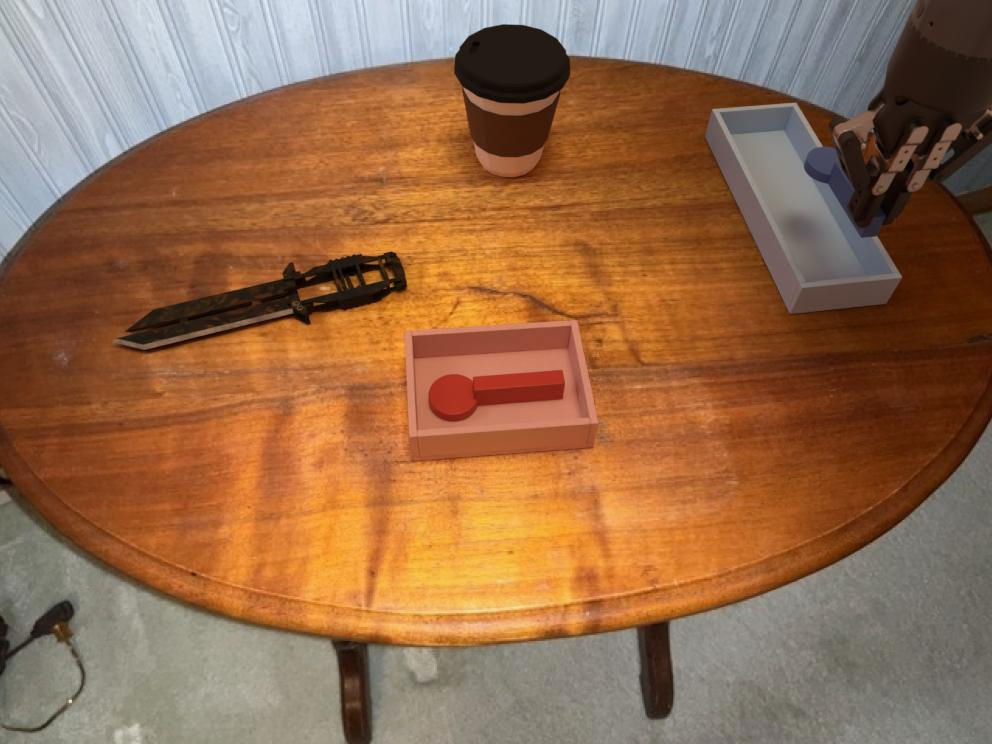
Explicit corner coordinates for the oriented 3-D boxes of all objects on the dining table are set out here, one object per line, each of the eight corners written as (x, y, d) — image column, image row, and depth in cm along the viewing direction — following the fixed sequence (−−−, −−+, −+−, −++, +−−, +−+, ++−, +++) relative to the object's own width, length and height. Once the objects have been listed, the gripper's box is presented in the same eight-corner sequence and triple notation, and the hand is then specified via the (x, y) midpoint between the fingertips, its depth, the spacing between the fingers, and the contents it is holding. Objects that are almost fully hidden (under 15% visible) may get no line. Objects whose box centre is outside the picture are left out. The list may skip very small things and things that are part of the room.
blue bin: (886, 303, 74) (902, 277, 71) (789, 314, 73) (802, 287, 70) (786, 130, 89) (796, 102, 86) (704, 136, 88) (712, 108, 85)
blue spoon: (891, 235, 68) (902, 214, 66) (845, 239, 67) (855, 219, 66) (838, 153, 74) (847, 133, 72) (796, 157, 74) (804, 137, 72)
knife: (115, 360, 68) (109, 349, 67) (115, 303, 72) (110, 292, 71) (412, 305, 73) (411, 295, 72) (398, 254, 76) (397, 243, 75)
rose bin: (573, 345, 70) (577, 319, 68) (593, 447, 64) (598, 423, 61) (407, 356, 69) (404, 330, 66) (411, 461, 63) (409, 437, 60)
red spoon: (557, 372, 68) (560, 356, 66) (565, 412, 66) (568, 396, 64) (427, 382, 67) (426, 366, 65) (430, 423, 65) (429, 408, 63)
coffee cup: (444, 184, 82) (440, 78, 73) (469, 118, 89) (468, 13, 79) (551, 201, 81) (561, 96, 71) (568, 134, 88) (580, 29, 78)
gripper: (900, 61, 50) (807, 260, 64) (1101, 46, 52) (968, 244, 66) (850, -4, 55) (774, 196, 69) (1037, -16, 56) (925, 182, 70)
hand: (869, 218), depth 67 cm, fingers closed on blue spoon, 1 cm apart
